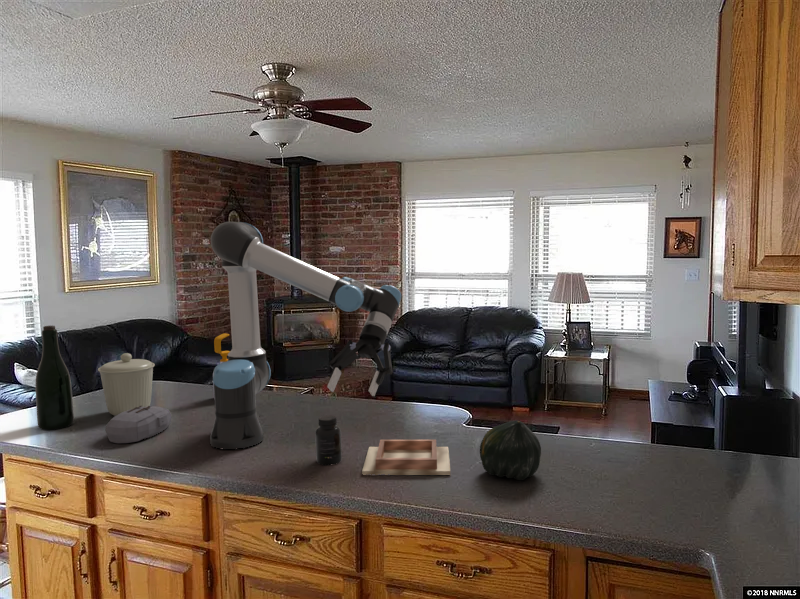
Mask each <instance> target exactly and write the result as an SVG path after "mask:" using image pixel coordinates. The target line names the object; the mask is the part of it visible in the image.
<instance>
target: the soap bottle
mask: <svg viewBox="0 0 800 599" xmlns="http://www.w3.org/2000/svg"><path fill="white" fill-rule="evenodd" d="M229 336H230V334H229V333H224V332H223V333H222V334H219V335H217V336H216V337H215V338H214V341H213V346H214V352H215V353H216V354H220V356H221V359H219V360H220V361H219V364H220V363H222V362H227V361H228V353H229V352H230V351H231V350H222V343H221V342H222V340H224V339H225V338H227V337H229ZM213 376H214V371H213V373H212V377H213ZM212 385H213V386H212V387H213V391H214V382H212Z"/></svg>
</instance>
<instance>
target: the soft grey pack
mask: <svg viewBox="0 0 800 599" xmlns="http://www.w3.org/2000/svg"><path fill="white" fill-rule="evenodd" d="M171 423H172V413H171V411H170V409H168V408H166V407H164V406H163V407H162V406H154V405H153V406H152V405H150V406H148V407H142V406H139V407H136V408H134V409H130V410H127V411H125V412H122V413H120V414H118V415H116V416H114V415H113V417H112V418H111V419H110V420H109V421H108V422H107V423H106V425H105V433H106V436H107V439H108V440H109V442H111V443H115V444H129V443H130V444H131V443H135V442H140V441H143V439H144V440H147V439H146V438H148V439H150V438H152V437H151V436H153V437H154V435H155V436H157V435H159V434H161V433H162V432H164V431H165V430H166V429H168V428H169V427H170V426H171ZM163 430H164V431H163ZM160 432H161V433H160ZM158 433H159V434H158ZM156 434H157V435H156ZM149 437H150V438H149Z"/></svg>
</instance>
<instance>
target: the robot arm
mask: <svg viewBox="0 0 800 599" xmlns="http://www.w3.org/2000/svg"><path fill="white" fill-rule="evenodd" d="M210 246H211V249H212V251H213V252H214V254H215V255H216V257H218V258H220V259H221V267H222V268H223V269H224V270H225V271H226V273H227V282H228V283H227V284H228V298H229V314H230V329H231V330H230V331H231V332H230V333H231V346H232V347H231V350H229V351H230V352H229V353H228V356H227V359H228V361H227V362H222V363H220V362H219V363H218V364H217V365H216V366H215V367H214V368H213V372H214V376H213V375H212V381H213V382H214V390H213V399H214V413H215V414H214V415H215V416H214V422H213V426H212V428H211V431H210V432H211V433H210V437H209V439H210V440H209V442H210V444H211V445H210V446H211V447H212V446H213V447H212V448H214V447H216V448H215V449H217V448H223V449H235V450H237V449H236V448H243V449H246V448H245V447H248V448H250V447H249V446H252V447H254V446H253V445H255V446H257V445H259V444H261V443H262V442H263V441H264V431H263V428H262V426H261V424H260V420H259V418H258V415H257V402H256V399H257V398H256V396H257V394H259V393H260V392H262V391H263V390H264V389H265V388H266V386H267V385H268V383H269V381H270V378H271V375H272V373H271V371H272V370H271V367H270V364H269V362H268V360H267V352H266V350H265V349H264V348H262V345H261V330H260V316H259V315H260V314H259V299H258V297H259V296H258V284H257V283H258V282H257V280H258V279H257V271H259V272H261V273H264V274H265V275H268V276H271V277H273V278H275V279H277V280H280V281H282V282H284V283H286V284H288V285H291V286H294V287H296V288H297V289H300V290H302V291H304V292H306V293H309V294H311V295H314V296H316V297H317V298H319V299H323V300H325V301H327V302H329V303H331V304H333V305H335V306H337V307H338V308H339V310H341V311H343V312H348V313H349V312H354V311H357V310H358V309H361V310H364V311H366V312H369V313H368V315H367V317H366V320H365V322H364V324H363V325H364V326H363V327H362V329H361V332H360V334H359V340H358V341H357V342H353V341H352V339H350V340H348V341H347V343H346V345H345V346H344V347H343V348H342V349H341V350H340V351H339V352H338V353H337V354H336V355H335V356H334V357H333V358H332V359H331V360H330V361H329V363H328V365H329V367H330V368H331V369H332V370H331V372H330V375H329V381H328V383H327V385H326V387H327V388H328V389H329V391H330V392H332V393H334V391H335V389H336V387H337V384H338V382H339V380H340V377H341V375H342V370H344V369H345V368H346V367H348V366H349V365H350V364H352V363H353V362H354V361H356V360H360V359H361V358H362V359H366V358H367V359H372V358H373V360H374V361H375V364H376V366H377V368H378V370H376V371H375V373H374V375H373V377H372V380H371V383H370V386H369V388H368V392H369V394H370V395H371V397H375V396H376V393H377V391H378V388H379V386H381V385H382V384H383V381H384V378H385V377H386V376H387V375H393V373H394V372H393V371H394V370H393V365H392V359H391V358H392V357H391V352H392V346H391V345H390V344H389V342H385V341H386V339H387V336H388V334H389V331H390V330H391V329H390V328H391V326H392V324H393V321H394V319H395V316H396V314H397V313H398V309H399V307H400V305H401V304H400V303H401V300H402V293H401V291H400V290H399V289H398V288H397V287H396V286H394V285H391V284H389V285H388V284H384V285H382V286H380V288H376V287H373V286H371V285H369V284H366V283H363V282H360V281H359V280H356V279H354V278H351V277H349V276H343V277H342V278H340V277H338V276H336V275H333V274H331V273H329V272H327V271H324V270H322V269H320V268H317V267H316V266H313V265H311V264H310V263H307V262H304V261H303V260H301V259H298V258H296V257H293V256H291V255H289V254H287V253H284V252H282V251H280V250H278V249H275V248H273V247H272V246H269V245H267V244H265V243H264V239H263V235H262V234H261V231H260V230H259V229H258V228H256V227H255V226H254V225H253V224H250V223H247V222H242V221H225V222H221V223H220V224H218V225H217V226H216V227H215V228H214V230H213V231H212V233H211V236H210ZM381 351H383V359H384V366H383V362H382V361H381V358H380V356H379V353H380V352H381ZM213 382H212V383H213ZM262 440H263V441H262ZM261 441H262V442H261ZM260 442H261V443H260ZM258 443H259V444H258ZM256 444H257V445H256ZM223 449H222V450H223Z"/></svg>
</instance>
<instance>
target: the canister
mask: <svg viewBox="0 0 800 599" xmlns="http://www.w3.org/2000/svg"><path fill="white" fill-rule="evenodd" d="M155 366H156V365H155V363H154V362H152V361H150V360H149V359H148V360H147V359H144V358H143V359H142V358H133V356H132V354H131V353H130V352H129V353H128V352H126V353H125V352H124V353H123V354H121V355H120V360H115V361H109V362H106V363H105V364H102V366H100V367H98V369H97V371H98V372H99V373H100V378H101V384H102V391H103V395H104V399H105V403H106V409H107V411H108V412H109V414H110V415H112V416H113V417H114V416H116V415H118V414H120V413H122V412H125V411H127V410H130V409H134V408H136V407H139V406H142V407H148V406H151V402H152V391H153V389H152V388H153V374H154V372H153V371H154V367H155Z"/></svg>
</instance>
